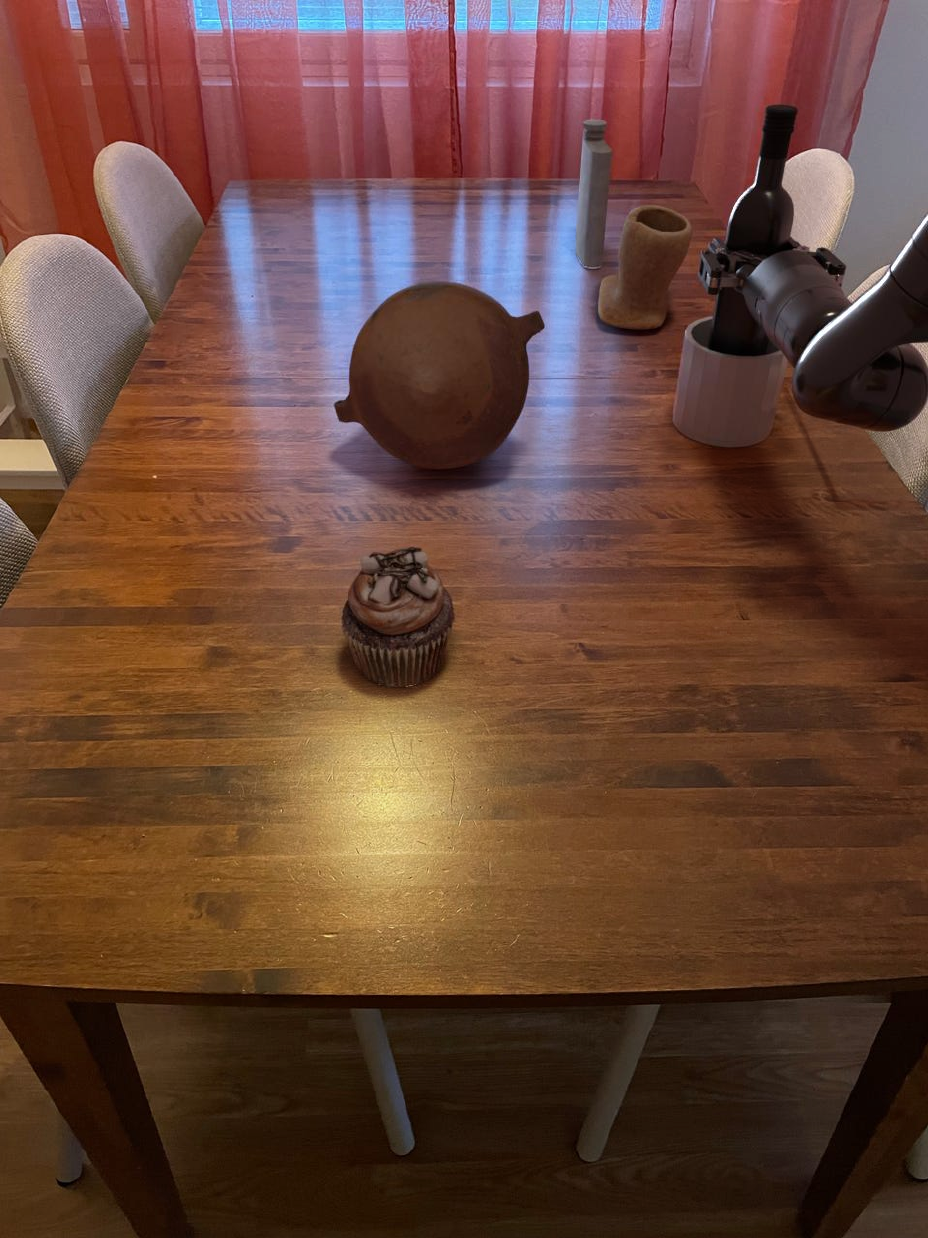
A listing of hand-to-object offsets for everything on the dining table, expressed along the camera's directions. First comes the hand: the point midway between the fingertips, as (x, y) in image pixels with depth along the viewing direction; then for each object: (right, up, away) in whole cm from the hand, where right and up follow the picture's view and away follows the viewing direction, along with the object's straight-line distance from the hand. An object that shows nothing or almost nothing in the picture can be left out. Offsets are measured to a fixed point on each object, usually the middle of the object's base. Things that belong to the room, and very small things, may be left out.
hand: (749, 246), depth 103 cm
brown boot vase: (-5, +4, +36) cm, 37 cm away
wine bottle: (0, -14, +9) cm, 16 cm away
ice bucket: (0, -17, +12) cm, 20 cm away
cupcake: (-37, -44, -20) cm, 61 cm away
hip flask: (-10, +21, +56) cm, 61 cm away
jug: (-33, -18, +10) cm, 39 cm away
